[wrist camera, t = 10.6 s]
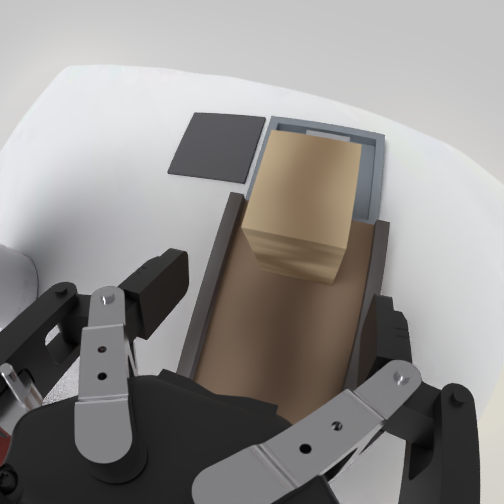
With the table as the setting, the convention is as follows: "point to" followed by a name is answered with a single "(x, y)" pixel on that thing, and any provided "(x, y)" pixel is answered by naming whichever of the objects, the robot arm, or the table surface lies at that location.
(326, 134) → the chip
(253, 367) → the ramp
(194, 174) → the mat
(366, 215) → the tray
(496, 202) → the table surface
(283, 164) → the tall wooden block
